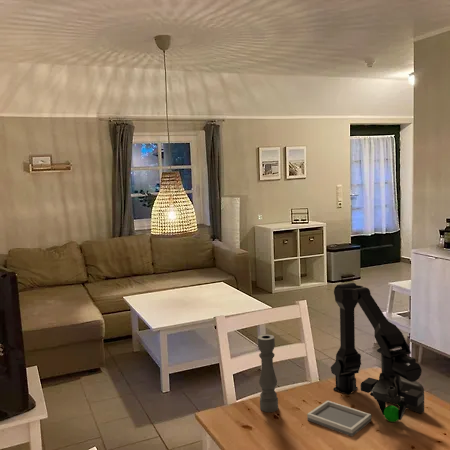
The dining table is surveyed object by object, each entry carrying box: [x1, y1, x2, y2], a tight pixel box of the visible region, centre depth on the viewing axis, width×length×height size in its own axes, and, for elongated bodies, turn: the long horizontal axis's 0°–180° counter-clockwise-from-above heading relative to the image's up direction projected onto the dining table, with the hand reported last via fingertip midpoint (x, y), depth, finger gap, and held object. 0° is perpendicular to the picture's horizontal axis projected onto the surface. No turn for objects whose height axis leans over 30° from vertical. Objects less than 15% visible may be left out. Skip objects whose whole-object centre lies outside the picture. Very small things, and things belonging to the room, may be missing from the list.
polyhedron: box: [383, 404, 400, 423], centre depth 157 cm, size 5×5×5 cm
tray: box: [306, 400, 372, 437], centre depth 159 cm, size 16×12×2 cm
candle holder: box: [257, 334, 279, 413], centre depth 169 cm, size 6×6×25 cm
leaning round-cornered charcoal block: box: [387, 377, 425, 414], centre depth 167 cm, size 16×5×9 cm, turn 39°
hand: (391, 417), depth 157 cm, fingers closed on polyhedron, 5 cm apart
